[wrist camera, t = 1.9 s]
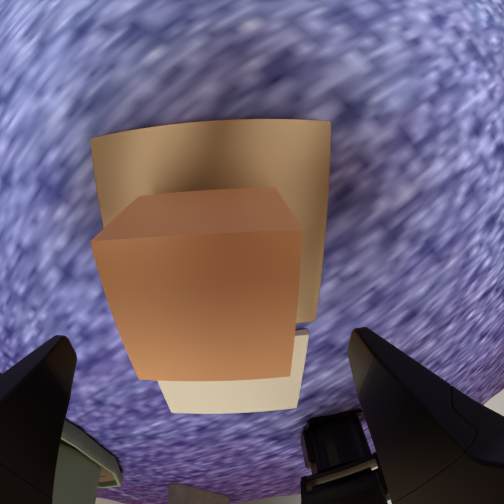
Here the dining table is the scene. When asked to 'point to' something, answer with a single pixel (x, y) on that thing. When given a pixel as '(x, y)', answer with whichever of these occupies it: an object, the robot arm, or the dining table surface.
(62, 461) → the tea set
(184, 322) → the orange cube
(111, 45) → the dining table surface
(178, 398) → the pad
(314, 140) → the post stand
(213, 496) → the hip flask
